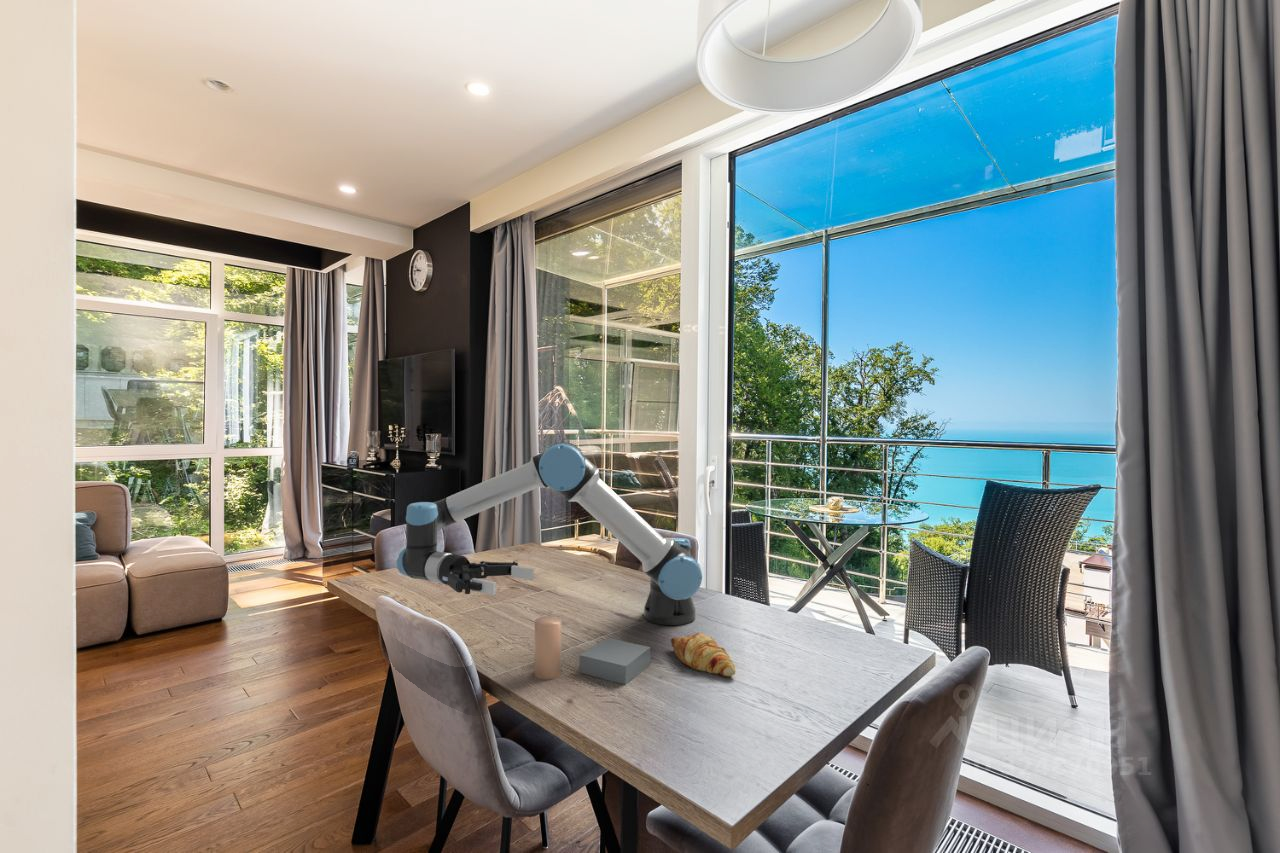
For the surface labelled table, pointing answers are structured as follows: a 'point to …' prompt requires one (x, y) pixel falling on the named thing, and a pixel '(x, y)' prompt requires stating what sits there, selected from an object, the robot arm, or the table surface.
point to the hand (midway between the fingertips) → (514, 581)
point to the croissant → (703, 654)
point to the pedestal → (615, 660)
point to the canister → (547, 648)
